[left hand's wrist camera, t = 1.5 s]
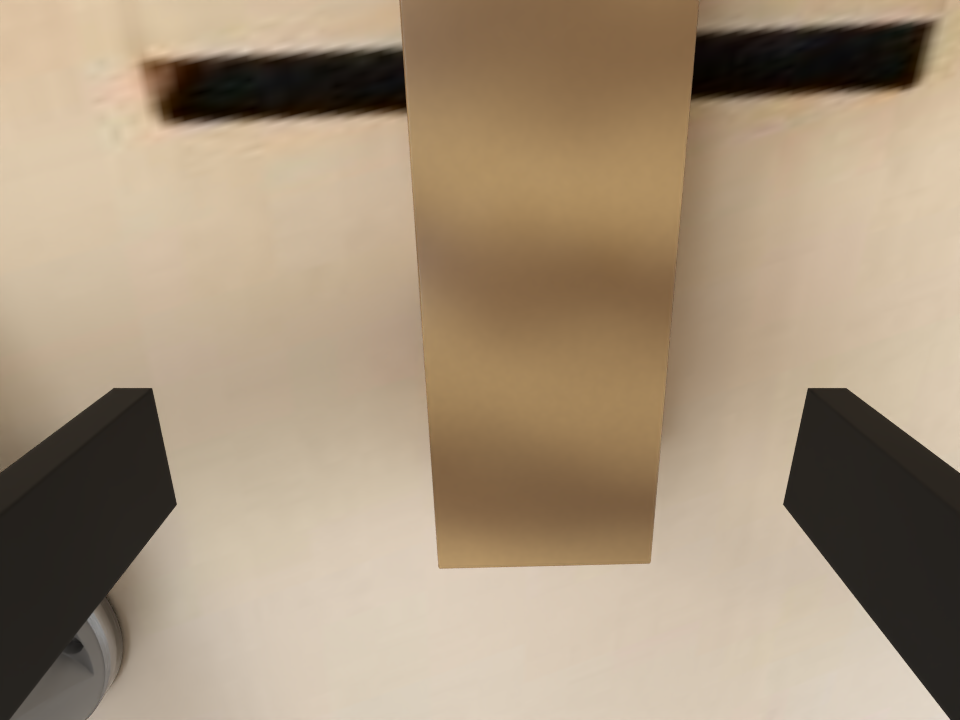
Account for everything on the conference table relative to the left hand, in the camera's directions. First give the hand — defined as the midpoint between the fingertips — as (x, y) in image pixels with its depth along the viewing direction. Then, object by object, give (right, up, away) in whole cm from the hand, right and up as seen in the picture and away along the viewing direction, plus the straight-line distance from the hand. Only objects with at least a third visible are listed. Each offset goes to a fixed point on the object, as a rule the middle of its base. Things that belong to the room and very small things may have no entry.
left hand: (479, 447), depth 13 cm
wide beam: (+2, +24, +9) cm, 26 cm away
